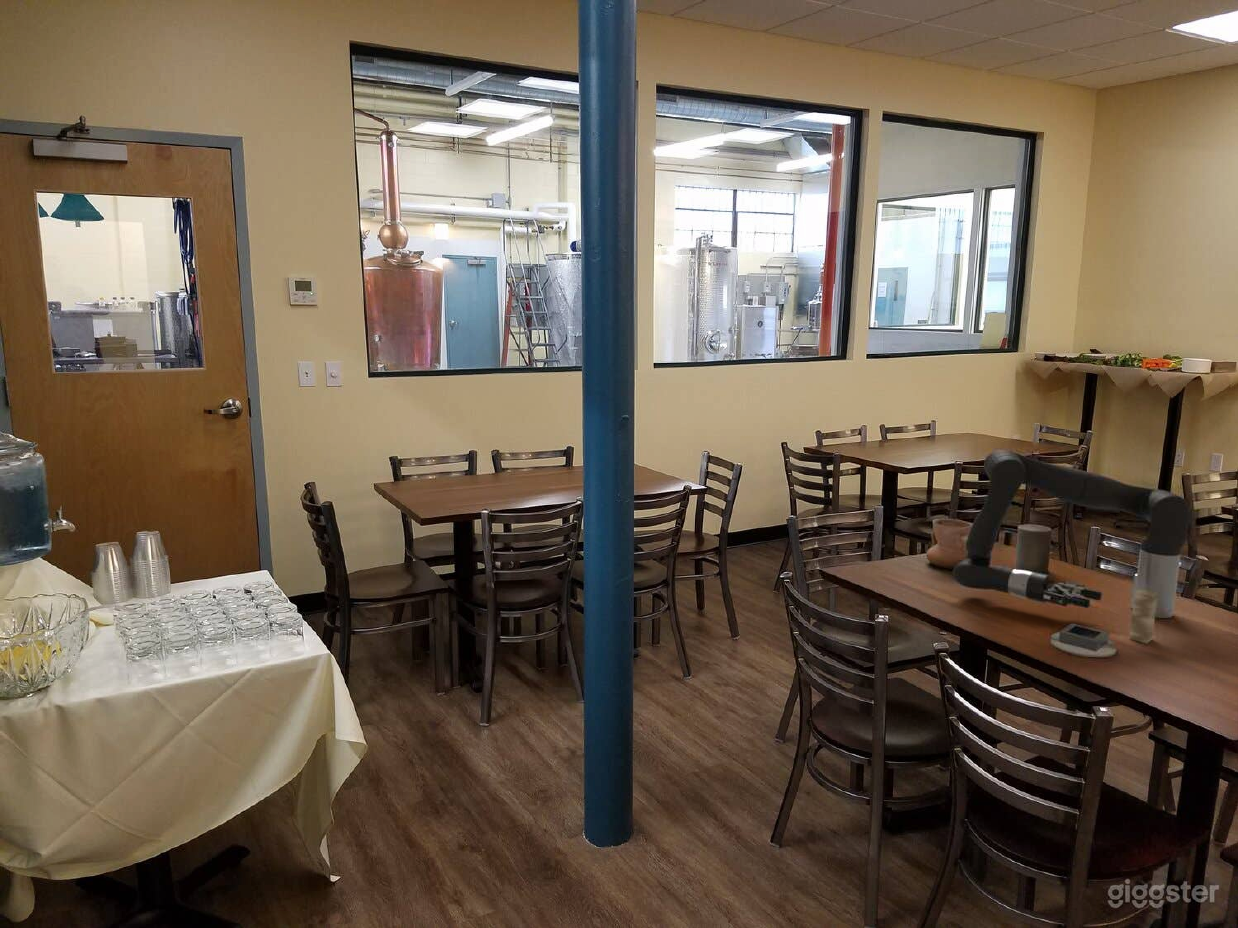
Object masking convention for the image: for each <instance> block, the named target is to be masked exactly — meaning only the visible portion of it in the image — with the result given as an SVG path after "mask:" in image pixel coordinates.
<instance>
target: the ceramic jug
mask: <svg viewBox="0 0 1238 928" xmlns="http://www.w3.org/2000/svg"><path fill="white" fill-rule="evenodd" d="M972 524H973V522H972V523H971V522H968V521H964V520H959V519H953V518H938V519H933V521H932V527H933V530H931V531H932V532H931V541H932V547H930V548H929V549H928V550H927V551H926V555H925V556H926V559H927V560H928V561H929V562H930V563H931V564H933V565H934V566H936V567H940V568H944V569H948V570H953V569H954V567H955V566H956V565H957V564H958V563H960V562H962V561H964V560H965V559H966V557H967V553H968V551H967V549H966V542H967V538H968V535H969V532H970V529H971V527H972Z"/></svg>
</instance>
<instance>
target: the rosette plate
mask: <svg viewBox="0 0 1238 928" xmlns="http://www.w3.org/2000/svg"><path fill="white" fill-rule="evenodd" d="M1109 634H1110V632H1109V631H1105V630H1100V629H1096V628H1093V627H1089V626H1084V625H1080V624H1076V623H1071V624H1069V625H1067V626H1065V627H1064V628H1063V629H1062V630H1059V631H1057V632H1055V633H1053V634H1052V635H1051V636H1050V644H1051V645H1052V646H1053V647H1054V648H1056V649H1057V648H1058V649H1057V650H1059V651H1061V652H1064V653H1067V654H1069V653H1070V655H1073V656H1077V657H1084V658H1089V657H1097V658H1096V659H1099V658H1098V657H1101V658H1100V659H1103V658H1102V657H1108V658H1111V657H1114V656H1115V655H1116V654H1117V645H1116V644H1115V643H1114V642H1113V641H1111V640H1110V639H1109V636H1110V635H1109ZM1113 655H1114V656H1113Z"/></svg>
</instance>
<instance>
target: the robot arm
mask: <svg viewBox="0 0 1238 928" xmlns="http://www.w3.org/2000/svg"><path fill="white" fill-rule="evenodd" d="M983 468H984V471H985V474H986V476H987V477H988V479H989V485H988V486H989V488H988V493H987V496H986V499H985V502H984V504H983V506H982V508H981V509H980V511H979V512H978V514H977V515H976V517H975V519H974V520H973V522H972V527H971V529H970V532H969V535H968V538H967V542H966V545H965V547H966V549H967V551H968V553H967V557H966V559H965V560H964V561H962V562H960V563H958V564H957V565H956V566H955V567H954V569H952V577H953V579H954V581H955V582H956V583H958V584H959V585H960V586H962V587H966V588H968V589H969V588H970V589H978V590H991V591H997V592H1002V593H1005V594H1010V595H1011V596H1012V595H1013V596H1016V597H1018V598H1022V599H1027V600H1030V601H1035V602H1038V603H1044V604H1046V603H1051V604H1054V605H1059V606H1063V607H1067V606H1077V607H1081V608H1085V609H1088V608H1090V607H1091V606H1090V605H1091V600H1094V601H1101V600H1102V595H1103V593H1102V592H1101V591H1099V590H1093V589H1089V588H1087V585H1085V584H1079V583H1075V582H1069V581H1066V580H1062V581H1061V582H1058V583H1054V581H1053V579H1054V578H1053V577H1052V576H1051V575H1049V574H1047V573H1045V574H1041V573H1037V572H1032V571H1027V570H1020V569H1015V568H1013V567H1007V566H1003V565H995V566H991V559H992V551H993V548H994V546H995V543H996V540H997V537H998V534H999V531H1000V529H1001V527H1002V523H1003V522H1004V518H1005V516H1006V514H1007V513H1008V510H1009V508H1010V507H1011V505H1012V502H1013V500H1014V498H1015V497H1016V494H1017V493H1018V492H1019V490H1020V488H1021V486H1022V485H1027V486H1030V487H1033V488H1035V489H1038V490H1040V491H1043V492H1044V493H1046V494H1048V495H1050V496H1052V497H1054V498H1056V499H1058V500H1061V501H1064V502H1067V503H1070V504H1072V505H1073V504H1074V505H1077V506H1080V507H1081V506H1082V507H1083V508H1084V507H1085V508H1090V509H1098V510H1114V511H1115V510H1117V511H1121V512H1125V513H1127V514H1130V515H1133V516H1136V517H1139V518H1141V519H1144V520H1146V521H1148V522H1150V524H1149V528H1148V533H1147V536H1144V537H1143V538H1141V541H1140V546H1139V547H1140V550H1139V557H1138V567H1137V573H1135V574H1134V575H1133V583H1132V591H1131V592H1132V593H1131V599H1130V608H1131V609H1133V603H1134V595H1135V592H1136V591H1138V590H1139V589H1141V590H1146V591H1151V592H1156V593H1158V596H1157V604H1156V612H1155V618H1156V619H1168V618H1172V617H1173V616H1174V610H1175V609H1174V608H1175V603H1176V602H1175V601H1176V594H1177V585H1178V578H1179V571H1180V562H1181V561H1180V560H1181V553H1182V549H1183V547H1184V545H1185V543H1186V542H1187V541H1186V540H1187V536H1188V531H1189V526H1190V519H1191V509H1190V505H1189V502H1188V501H1187V500H1186V499H1185V498H1184V497H1182V496H1180V495H1177V494H1175V493H1173V492H1170V491H1168V490H1164V489H1156V488H1148V487H1141V486H1137V485H1130V484H1127V483H1124V482H1121V481H1118V480H1116V479H1113V478H1111V477H1107V476H1104V475H1101V474H1098V473H1093V472H1089V471H1085V470H1082V469H1077V468H1071V467H1068V466H1063V465H1059V464H1054V463H1050V462H1049V463H1047V462H1044V461H1040V460H1036V459H1034V458H1032V457H1028V456H1025V455H1022V454H1021V453H1020V454H1019V453H1017V452H1014V451H1012V450H1007V449H998V450H995V451H992V452H990V453H989V454H988V455H987V456H986V457H985V459H984V461H983ZM1090 599H1091V600H1090Z"/></svg>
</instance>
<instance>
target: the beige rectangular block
mask: <svg viewBox="0 0 1238 928" xmlns="http://www.w3.org/2000/svg"><path fill="white" fill-rule="evenodd" d="M1157 596H1158V593H1156V592H1151V591H1146V590H1141V589H1139V590H1138V591H1136V592H1135V595H1134V603H1133V608H1132V613H1131V622H1130V630H1129V640H1132V641H1137V642H1140V643H1144V644H1148V643H1149V642H1151V641H1152V640H1153V637H1154V628H1155V612H1156V604H1157Z"/></svg>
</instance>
